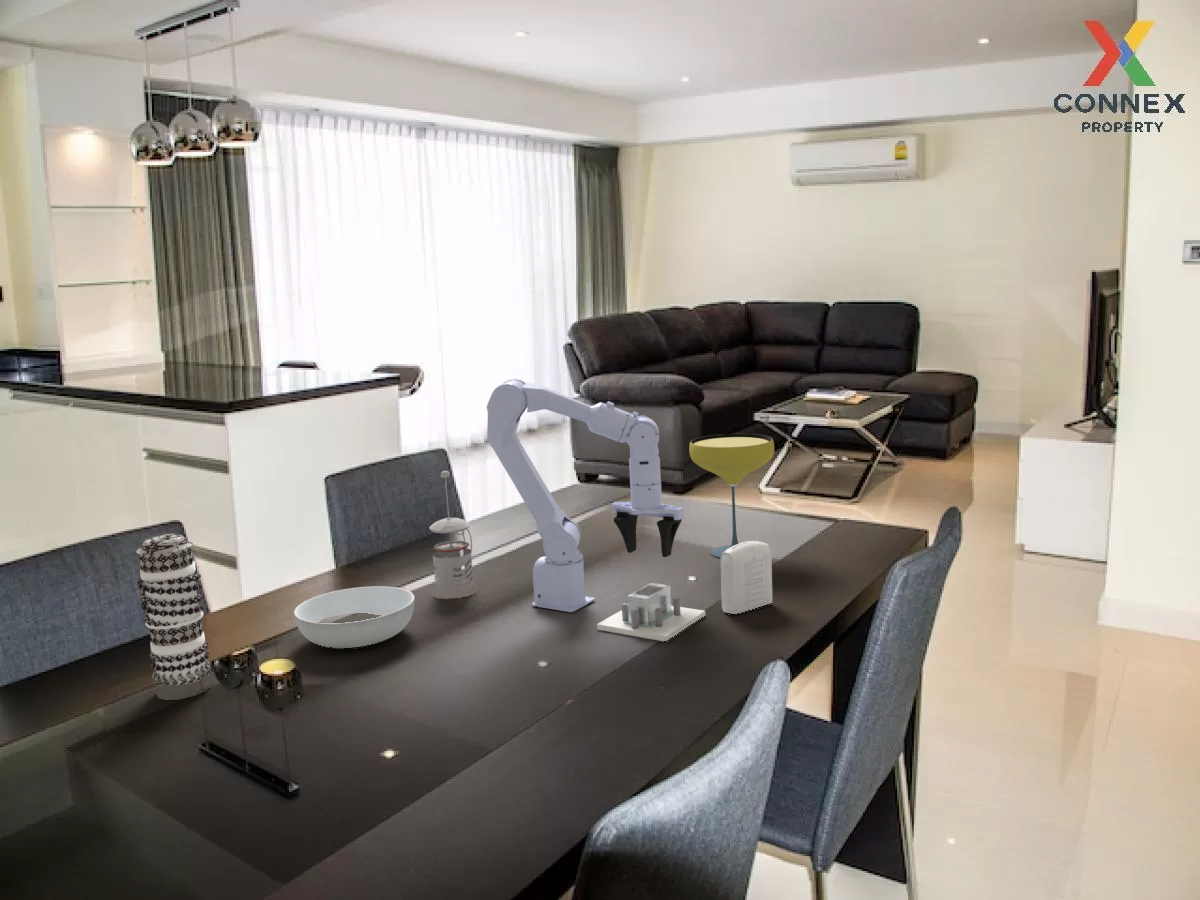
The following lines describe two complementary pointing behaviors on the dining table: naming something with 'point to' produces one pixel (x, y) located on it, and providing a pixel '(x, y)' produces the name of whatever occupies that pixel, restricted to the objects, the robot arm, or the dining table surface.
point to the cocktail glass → (731, 462)
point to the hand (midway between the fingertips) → (649, 553)
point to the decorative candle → (173, 610)
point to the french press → (452, 552)
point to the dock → (659, 629)
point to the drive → (649, 602)
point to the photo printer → (746, 577)
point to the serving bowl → (371, 600)
